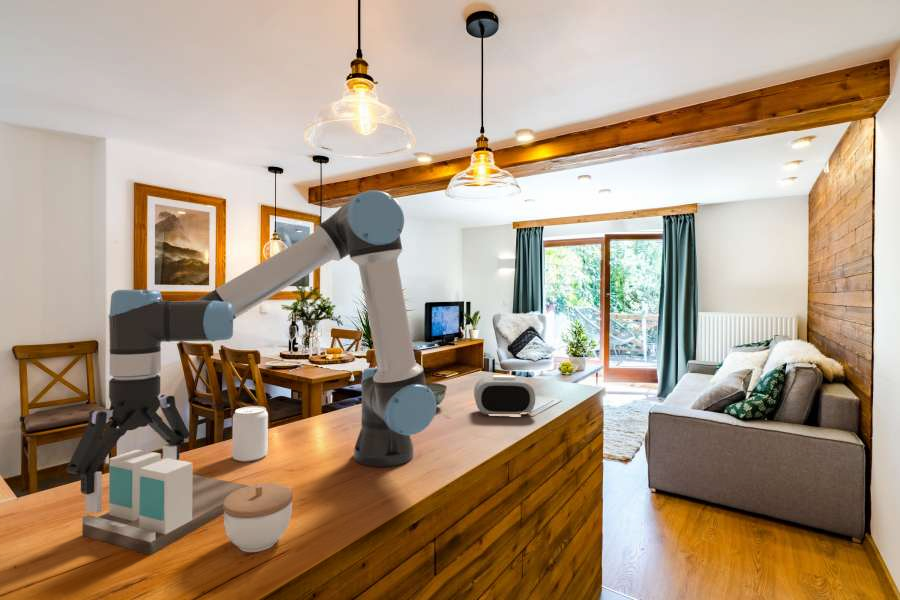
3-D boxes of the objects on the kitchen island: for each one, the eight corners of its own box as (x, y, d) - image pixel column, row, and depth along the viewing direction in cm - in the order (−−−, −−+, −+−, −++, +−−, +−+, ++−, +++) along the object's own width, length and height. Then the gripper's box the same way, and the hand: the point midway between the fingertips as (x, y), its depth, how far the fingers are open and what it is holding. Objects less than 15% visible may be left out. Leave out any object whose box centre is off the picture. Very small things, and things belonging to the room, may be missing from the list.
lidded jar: (237, 526, 80) (238, 474, 80) (299, 524, 81) (299, 473, 81) (210, 562, 69) (211, 502, 69) (281, 560, 70) (282, 500, 70)
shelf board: (254, 496, 91) (254, 480, 91) (150, 555, 71) (150, 534, 71) (194, 484, 97) (194, 469, 97) (82, 535, 76) (82, 516, 76)
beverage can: (254, 464, 108) (254, 415, 108) (225, 461, 110) (225, 412, 110) (273, 452, 116) (274, 406, 116) (246, 450, 118) (246, 404, 118)
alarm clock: (475, 417, 153) (476, 378, 153) (473, 410, 162) (474, 373, 162) (535, 418, 153) (536, 379, 153) (530, 411, 163) (530, 374, 162)
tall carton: (137, 502, 84) (137, 449, 84) (160, 508, 82) (161, 453, 82) (107, 515, 79) (108, 459, 79) (131, 521, 77) (132, 463, 77)
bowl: (405, 411, 159) (405, 388, 159) (414, 402, 173) (414, 381, 173) (442, 413, 157) (443, 390, 157) (449, 404, 170) (449, 383, 170)
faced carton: (166, 513, 80) (167, 458, 80) (192, 520, 78) (192, 462, 78) (137, 528, 75) (138, 468, 75) (164, 535, 73) (164, 474, 73)
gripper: (182, 364, 93) (181, 465, 93) (38, 387, 69) (37, 523, 70) (209, 366, 90) (208, 471, 91) (70, 391, 67) (69, 532, 67)
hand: (134, 494), depth 80 cm, fingers open, 13 cm apart
